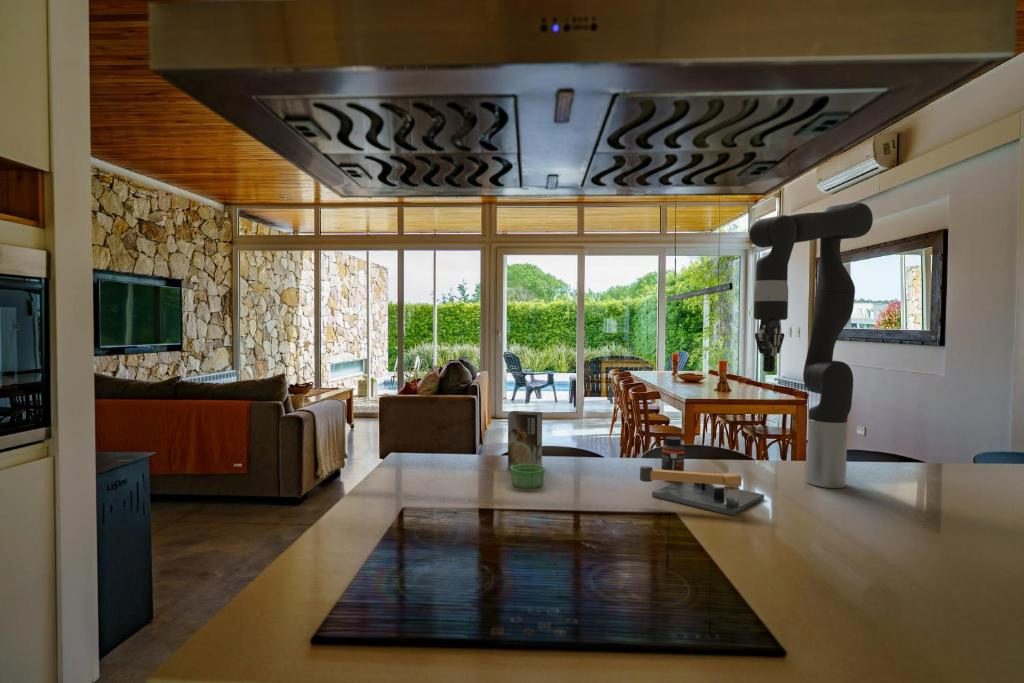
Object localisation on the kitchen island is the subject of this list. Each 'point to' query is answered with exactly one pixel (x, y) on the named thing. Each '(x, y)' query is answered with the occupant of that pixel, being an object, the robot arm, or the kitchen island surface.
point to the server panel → (709, 496)
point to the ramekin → (527, 475)
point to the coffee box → (524, 438)
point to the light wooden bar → (689, 477)
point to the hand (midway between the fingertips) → (768, 371)
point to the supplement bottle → (673, 454)
